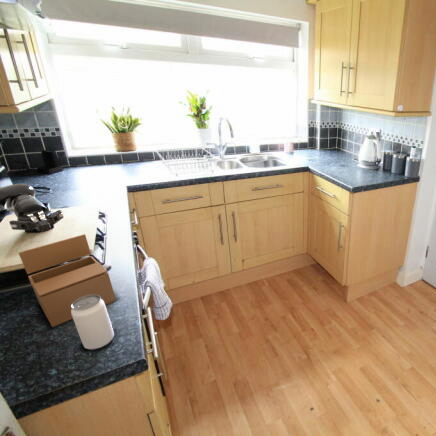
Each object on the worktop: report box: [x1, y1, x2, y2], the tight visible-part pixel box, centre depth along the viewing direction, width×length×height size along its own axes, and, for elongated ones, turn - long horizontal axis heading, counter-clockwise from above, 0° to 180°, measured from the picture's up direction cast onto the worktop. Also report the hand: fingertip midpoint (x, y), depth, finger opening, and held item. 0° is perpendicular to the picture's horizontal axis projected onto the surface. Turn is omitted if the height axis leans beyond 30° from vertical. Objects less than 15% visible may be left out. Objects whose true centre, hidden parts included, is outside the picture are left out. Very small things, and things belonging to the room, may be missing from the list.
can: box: [71, 295, 115, 350], centre depth 77 cm, size 6×6×12 cm
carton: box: [27, 255, 117, 328], centre depth 90 cm, size 15×14×10 cm
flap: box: [18, 233, 92, 275], centre depth 91 cm, size 15×7×1 cm
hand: (44, 228), depth 93 cm, fingers closed
